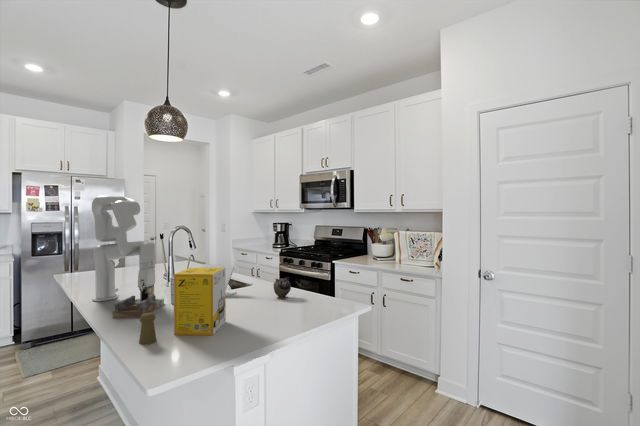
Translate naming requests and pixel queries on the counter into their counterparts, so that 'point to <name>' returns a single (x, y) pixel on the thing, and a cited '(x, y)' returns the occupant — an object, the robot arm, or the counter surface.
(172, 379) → the counter surface
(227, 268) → the tablet stand
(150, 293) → the ash block
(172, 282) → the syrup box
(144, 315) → the cork
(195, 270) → the packaging box
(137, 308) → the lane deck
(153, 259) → the robot arm
